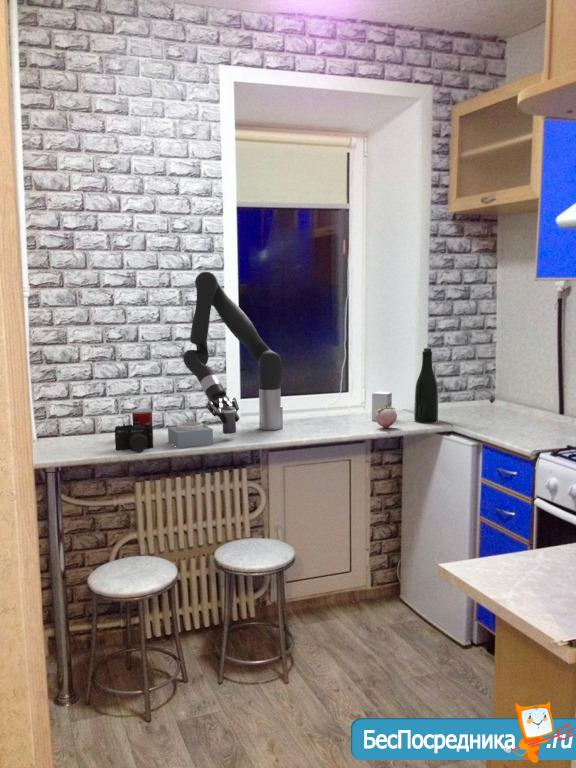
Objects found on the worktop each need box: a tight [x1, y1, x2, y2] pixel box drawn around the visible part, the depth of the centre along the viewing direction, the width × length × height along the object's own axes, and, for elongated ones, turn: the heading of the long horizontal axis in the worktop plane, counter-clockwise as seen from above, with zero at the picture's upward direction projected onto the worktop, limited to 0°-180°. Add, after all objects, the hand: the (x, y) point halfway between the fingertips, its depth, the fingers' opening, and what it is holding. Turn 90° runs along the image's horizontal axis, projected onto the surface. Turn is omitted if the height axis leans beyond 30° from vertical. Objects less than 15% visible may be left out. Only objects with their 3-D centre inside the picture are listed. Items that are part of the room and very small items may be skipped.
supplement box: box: [371, 391, 393, 422], centre depth 307 cm, size 7×7×13 cm
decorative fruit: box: [375, 405, 398, 429], centre depth 288 cm, size 9×8×10 cm
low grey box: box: [167, 421, 214, 449], centre depth 261 cm, size 14×12×8 cm
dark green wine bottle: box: [413, 347, 439, 424], centre depth 301 cm, size 10×10×33 cm
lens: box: [222, 406, 237, 435], centre depth 268 cm, size 5×5×10 cm
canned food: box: [131, 408, 153, 427], centre depth 273 cm, size 8×8×11 cm
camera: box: [114, 421, 154, 453], centre depth 250 cm, size 14×11×10 cm
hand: (231, 421), depth 267 cm, fingers closed on lens, 5 cm apart
